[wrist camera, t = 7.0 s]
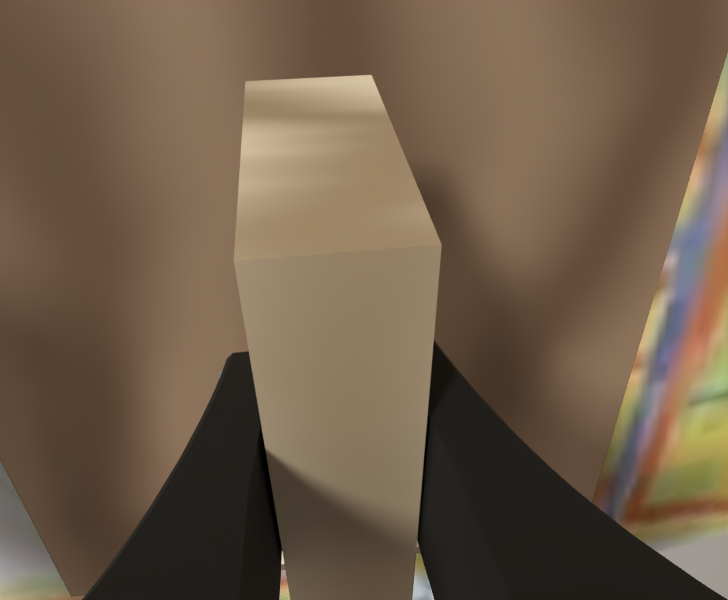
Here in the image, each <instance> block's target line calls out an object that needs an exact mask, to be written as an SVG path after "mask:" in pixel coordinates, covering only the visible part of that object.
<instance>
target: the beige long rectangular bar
mask: <svg viewBox="0 0 728 600" xmlns="http://www.w3.org/2000/svg"><path fill="white" fill-rule="evenodd" d="M441 247H442V244H441V242H440V239H439V237H438V235H437V232H436V230H435V227H434V225H433V222H432V220H431V218H430V215H429V213H428V210H427V208H426V205H425V203H424V201H423V198H422V196H421V193H420V191H419V189H418V186H417V184H416V181H415V179H414V176H413V174H412V172H411V169H410V167H409V164H408V162H407V159H406V157H405V155H404V152H403V150H402V147H401V145H400V143H399V140H398V138H397V135H396V133H395V130H394V128H393V126H392V123H391V121H390V118H389V116H388V114H387V111H386V109H385V106H384V104H383V101H382V99H381V97H380V94H379V92H378V89H377V87H376V84H375V82H374V80H373V77H372V75H359V76H339V77H319V78H300V79H280V80H260V81H245V96H244V111H243V126H242V141H241V157H240V172H239V187H238V202H237V218H236V233H235V248H234V266H235V272H236V278H237V284H238V290H239V296H240V302H241V308H242V314H243V320H244V325H245V331H246V337H247V343H248V349H249V355H250V361H251V367H252V373H253V379H254V385H255V391H256V397H257V403H258V409H259V415H260V421H261V427H262V433H263V439H264V444H265V450H266V456H267V462H268V468H269V474H270V480H271V486H272V492H273V498H274V504H275V510H276V516H277V522H278V528H279V534H280V540H281V546H282V552H283V558H284V564H285V569H286V575H287V581H288V587H289V593H290V599H291V600H412V595H413V583H414V571H415V559H416V547H417V535H418V523H419V511H420V499H421V487H422V475H423V463H424V451H425V439H426V427H427V415H428V403H429V391H430V379H431V367H432V355H433V343H434V331H435V319H436V307H437V295H438V283H439V271H440V259H441Z"/></svg>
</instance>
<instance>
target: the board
mask: <svg viewBox="0 0 728 600" xmlns="http://www.w3.org/2000/svg"><path fill="white" fill-rule="evenodd" d="M727 52H728V0H0V460H1V462H2V464H3V466H4V467H5V469H6V471H7V473H8V475H9V477H10V479H11V481H12V483H13V485H14V487H15V489H16V491H17V493H18V494H19V496H20V498H21V500H22V502H23V504H24V506H25V508H26V510H27V512H28V514H29V516H30V518H31V520H32V522H33V523H34V525H35V527H36V529H37V531H38V533H39V535H40V537H41V539H42V541H43V543H44V545H45V547H46V549H47V550H48V552H49V554H50V556H51V558H52V560H53V562H54V564H55V566H56V568H57V570H58V572H59V574H60V576H61V578H62V579H63V581H64V583H65V585H66V587H67V589H68V591H69V593H70V595H71V597H73V596H81V595H86V594H87V593H88V592H89V590H90V589H91V588H92V587H93V585H94V584H95V583H96V582H97V580H98V579H99V578H100V576H101V575H102V574H103V573H104V571H105V570H106V569H107V567H108V566H109V565H110V563H111V562H112V561H113V559H114V558H115V556H116V555H117V554H118V552H119V551H120V550H121V548H122V547H123V545H124V544H125V543H126V541H127V540H128V538H129V537H130V536H131V534H132V533H133V531H134V530H135V528H136V527H137V525H138V524H139V522H140V521H141V520H142V518H143V517H144V515H145V514H146V512H147V511H148V509H149V507H150V506H151V504H152V503H153V501H154V500H155V498H156V496H157V495H158V493H159V491H160V490H161V488H162V486H163V485H164V483H165V482H166V480H167V478H168V477H169V475H170V473H171V472H172V470H173V468H174V467H175V465H176V464H177V462H178V460H179V458H180V457H181V455H182V453H183V451H184V449H185V448H186V446H187V444H188V442H189V440H190V438H191V436H192V434H193V433H194V431H195V429H196V427H197V425H198V423H199V421H200V419H201V417H202V415H203V413H204V411H205V409H206V407H207V405H208V403H209V401H210V399H211V397H212V394H213V392H214V390H215V388H216V385H217V383H218V381H219V378H220V372H222V371H223V368H224V365H225V362H226V359H227V358H228V357H229V356H230V355H231V354H232V353H236V352H247V351H249V349H248V343H247V337H246V331H245V325H244V320H243V314H242V308H241V302H240V296H239V290H238V284H237V278H236V272H235V266H234V248H235V233H236V218H237V202H238V187H239V172H240V157H241V141H242V126H243V111H244V96H245V81H260V80H280V79H300V78H319V77H339V76H359V75H372V77H373V80H374V82H375V84H376V87H377V89H378V92H379V94H380V97H381V99H382V101H383V104H384V106H385V109H386V111H387V114H388V116H389V118H390V121H391V123H392V126H393V128H394V130H395V133H396V135H397V138H398V140H399V143H400V145H401V147H402V150H403V152H404V155H405V157H406V159H407V162H408V164H409V167H410V169H411V172H412V174H413V176H414V179H415V181H416V184H417V186H418V189H419V191H420V193H421V196H422V198H423V201H424V203H425V205H426V208H427V210H428V213H429V215H430V218H431V220H432V222H433V225H434V227H435V230H436V232H437V235H438V237H439V239H440V242H441V244H442V247H441V259H440V271H439V283H438V295H437V307H436V319H435V331H434V340H435V342H436V343H437V344H438V346H439V347H440V348H441V349H442V351H443V352H444V353H445V355H446V356H447V357H448V358H449V360H450V361H451V362H452V363H453V365H454V366H455V367H456V368H457V369H458V371H459V372H460V373H461V374H462V375H463V377H464V378H465V379H466V380H467V381H468V382H469V384H470V385H471V386H472V387H473V388H474V389H475V391H476V392H477V393H478V394H479V395H480V396H481V397H482V398H483V400H484V401H485V402H486V403H487V404H488V405H489V406H490V407H491V408H492V409H493V410H494V411H495V412H496V413H497V415H498V416H499V417H500V418H501V419H502V420H503V421H504V422H505V423H506V424H507V425H508V426H509V427H510V428H511V429H512V430H513V431H514V432H515V433H516V434H517V435H518V436H519V437H520V438H521V439H522V440H523V441H524V442H525V443H526V444H527V445H528V446H529V447H530V448H531V449H532V450H533V451H534V452H535V453H536V454H537V455H538V456H539V457H540V458H541V459H542V460H543V461H545V462H546V463H547V464H548V465H549V466H550V467H551V468H552V469H553V470H554V471H555V472H557V473H558V474H559V475H560V476H561V477H562V478H563V479H564V480H565V481H567V482H568V483H569V484H570V485H571V486H572V487H574V488H575V489H576V490H577V491H578V492H579V493H581V494H582V495H583V496H584V497H585V498H587V499H588V500H589V501H590V502H592V500H593V497H594V494H595V490H596V487H597V484H598V480H599V477H600V474H601V471H602V467H603V464H604V461H605V457H606V454H607V451H608V447H609V444H610V441H611V437H612V434H613V431H614V427H615V424H616V421H617V417H618V414H619V411H620V407H621V404H622V401H623V397H624V394H625V391H626V388H627V384H628V381H629V378H630V374H631V371H632V368H633V364H634V361H635V358H636V354H637V351H638V348H639V344H640V341H641V338H642V334H643V331H644V328H645V324H646V321H647V318H648V315H649V311H650V308H651V305H652V301H653V298H654V295H655V291H656V288H657V285H658V281H659V278H660V275H661V271H662V268H663V265H664V261H665V258H666V255H667V251H668V248H669V245H670V241H671V238H672V235H673V232H674V228H675V225H676V222H677V218H678V215H679V212H680V208H681V205H682V202H683V198H684V195H685V192H686V188H687V185H688V182H689V178H690V175H691V172H692V168H693V165H694V162H695V159H696V155H697V152H698V149H699V145H700V142H701V139H702V135H703V132H704V129H705V125H706V122H707V119H708V115H709V112H710V109H711V105H712V102H713V99H714V95H715V92H716V89H717V86H718V82H719V79H720V76H721V72H722V69H723V66H724V62H725V59H726V56H727ZM416 553H421V552H420V548H419V547H416ZM281 570H286V569H285V564H281Z"/></svg>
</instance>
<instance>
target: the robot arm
mask: <svg viewBox="0 0 728 600" xmlns="http://www.w3.org/2000/svg"><path fill="white" fill-rule="evenodd" d="M417 542H418V545H419V548H420V552H421V555H422V559H423V562H424V565H425V569H426V572H427V576H428V579H429V582H430V586H431V589H432V593H433V596H434V599H435V600H727V599H726V598H724V597H722V596H721V595H719V594H718V593H716V592H714V591H713V590H711V589H710V588H708V587H707V586H705V585H704V584H702V583H701V582H699V581H698V580H696V579H695V578H693V577H692V576H690V575H689V574H688V573H686V572H685V571H683V570H682V569H681V568H679V567H678V566H676V565H675V564H673V563H672V562H671V561H669V560H668V559H666V558H665V557H663V556H662V555H661V554H659V553H658V552H656V551H655V550H653V549H652V548H651V547H649V546H648V545H646V544H645V543H643V542H642V541H641V540H639V539H638V538H636V537H635V536H633V535H632V534H631V533H630V532H628V531H627V530H626V529H624V528H623V527H622V526H621V525H619V524H618V523H617V522H615V521H614V520H613V519H611V518H610V517H609V516H608V515H606V514H605V513H604V512H602V511H601V510H600V509H599V508H598V507H596V506H595V505H594V504H593V503H592V502H590V501H589V500H588V499H587V498H585V497H584V496H583V495H582V494H581V493H579V492H578V491H577V490H576V489H575V488H574V487H572V486H571V485H570V484H569V483H568V482H567V481H565V480H564V479H563V478H562V477H561V476H560V475H559V474H558V473H557V472H555V471H554V470H553V469H552V468H551V467H550V466H549V465H548V464H547V463H546V462H545V461H543V460H542V459H541V458H540V457H539V456H538V455H537V454H536V453H535V452H534V451H533V450H532V449H531V448H530V447H529V446H528V445H527V444H526V443H525V442H524V441H523V440H522V439H521V438H520V437H519V436H518V435H517V434H516V433H515V432H514V431H513V430H512V429H511V428H510V427H509V426H508V425H507V424H506V423H505V422H504V421H503V420H502V419H501V418H500V417H499V416H498V415H497V413H496V412H495V411H494V410H493V409H492V408H491V407H490V406H489V405H488V404H487V403H486V402H485V401H484V400H483V398H482V397H481V396H480V395H479V394H478V393H477V392H476V391H475V389H474V388H473V387H472V386H471V385H470V384H469V382H468V381H467V380H466V379H465V378H464V377H463V375H462V374H461V373H460V372H459V371H458V369H457V368H456V367H455V366H454V365H453V363H452V362H451V361H450V360H449V358H448V357H447V356H446V355H445V353H444V352H443V351H442V349H441V348H440V347H439V346H438V344H437V343H436V342H435V340H434V343H433V355H432V367H431V379H430V391H429V403H428V415H427V427H426V439H425V451H424V463H423V475H422V487H421V499H420V511H419V523H418V535H417ZM281 561H282V546H281V540H280V534H279V528H278V522H277V516H276V510H275V504H274V498H273V492H272V486H271V480H270V474H269V468H268V462H267V456H266V450H265V444H264V439H263V433H262V427H261V421H260V415H259V409H258V403H257V397H256V391H255V385H254V379H253V373H252V367H251V361H250V355H249V351H247V352H236V353H232V354H231V355H230V356H229V357H228V358H227V359H226V362H225V365H224V368H223V371H222V373H221V376H220V378H219V381H218V383H217V385H216V388H215V390H214V392H213V394H212V397H211V399H210V401H209V403H208V405H207V407H206V409H205V411H204V413H203V415H202V417H201V419H200V421H199V423H198V425H197V427H196V429H195V431H194V433H193V434H192V436H191V438H190V440H189V442H188V444H187V446H186V448H185V449H184V451H183V453H182V455H181V457H180V458H179V460H178V462H177V464H176V465H175V467H174V468H173V470H172V472H171V473H170V475H169V477H168V478H167V480H166V482H165V483H164V485H163V486H162V488H161V490H160V491H159V493H158V495H157V496H156V498H155V500H154V501H153V503H152V504H151V506H150V507H149V509H148V511H147V512H146V514H145V515H144V517H143V518H142V520H141V521H140V522H139V524H138V525H137V527H136V528H135V530H134V531H133V533H132V534H131V536H130V537H129V538H128V540H127V541H126V543H125V544H124V545H123V547H122V548H121V550H120V551H119V552H118V554H117V555H116V556H115V558H114V559H113V561H112V562H111V563H110V565H109V566H108V567H107V569H106V570H105V571H104V573H103V574H102V575H101V576H100V578H99V579H98V580H97V582H96V583H95V584H94V585H93V587H92V588H91V589H90V590H89V592H88V593H87V594H86V595H85V597H84V598H83V599H82V600H279V595H280V578H281Z"/></svg>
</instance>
